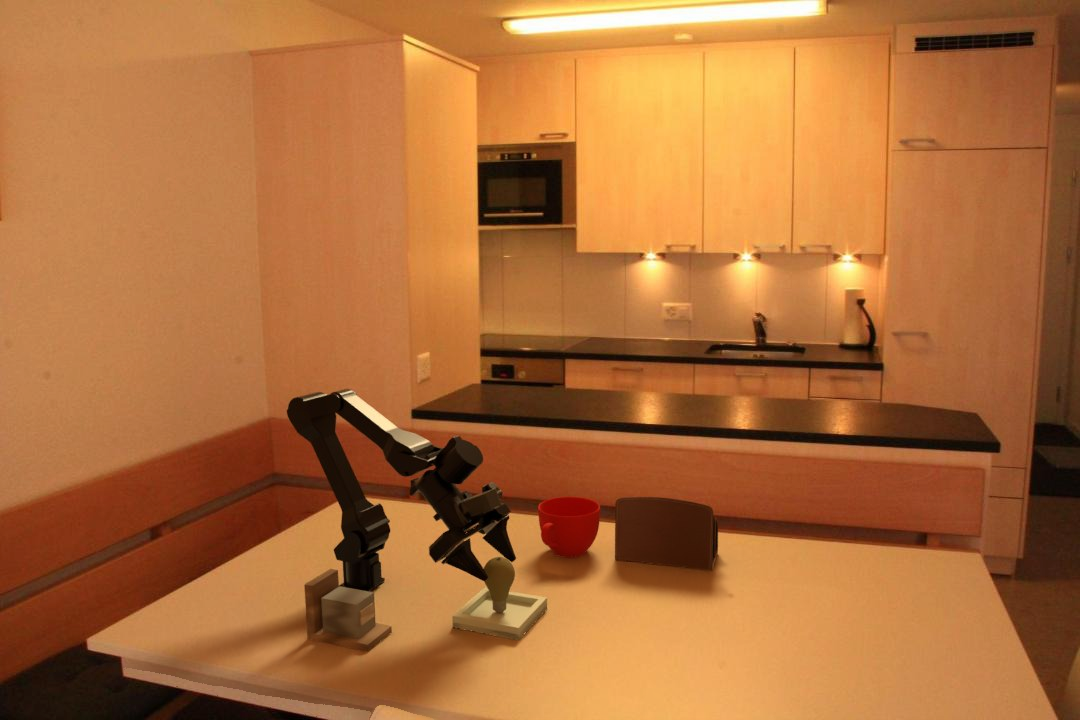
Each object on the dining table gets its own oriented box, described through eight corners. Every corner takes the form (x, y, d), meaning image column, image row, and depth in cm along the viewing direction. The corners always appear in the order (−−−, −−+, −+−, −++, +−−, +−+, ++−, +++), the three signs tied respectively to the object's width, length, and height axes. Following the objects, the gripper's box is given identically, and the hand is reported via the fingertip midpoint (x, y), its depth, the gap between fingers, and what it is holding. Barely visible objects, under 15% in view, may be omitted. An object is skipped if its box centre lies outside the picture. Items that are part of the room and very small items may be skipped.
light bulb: (518, 617, 145) (517, 562, 143) (486, 621, 144) (485, 565, 142) (512, 603, 150) (511, 550, 149) (481, 607, 149) (479, 553, 148)
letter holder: (712, 572, 166) (713, 503, 164) (614, 561, 172) (614, 494, 170) (718, 553, 175) (719, 488, 173) (625, 543, 181) (625, 480, 179)
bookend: (307, 638, 141) (304, 584, 139) (333, 620, 147) (330, 568, 146) (368, 651, 136) (365, 595, 135) (391, 632, 142) (389, 578, 141)
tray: (452, 627, 144) (452, 615, 143) (485, 598, 155) (484, 587, 155) (518, 640, 139) (518, 627, 139) (547, 609, 150) (547, 597, 150)
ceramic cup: (516, 562, 172) (515, 515, 170) (558, 536, 186) (558, 493, 184) (571, 575, 165) (571, 526, 163) (611, 547, 179) (610, 502, 177)
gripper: (441, 487, 137) (500, 563, 134) (500, 459, 154) (554, 526, 150) (404, 525, 142) (460, 600, 139) (465, 494, 159) (517, 560, 155)
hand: (500, 569), depth 146 cm, fingers open, 9 cm apart
